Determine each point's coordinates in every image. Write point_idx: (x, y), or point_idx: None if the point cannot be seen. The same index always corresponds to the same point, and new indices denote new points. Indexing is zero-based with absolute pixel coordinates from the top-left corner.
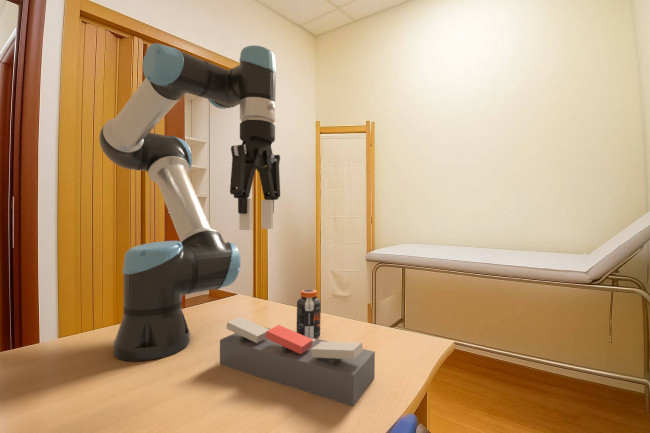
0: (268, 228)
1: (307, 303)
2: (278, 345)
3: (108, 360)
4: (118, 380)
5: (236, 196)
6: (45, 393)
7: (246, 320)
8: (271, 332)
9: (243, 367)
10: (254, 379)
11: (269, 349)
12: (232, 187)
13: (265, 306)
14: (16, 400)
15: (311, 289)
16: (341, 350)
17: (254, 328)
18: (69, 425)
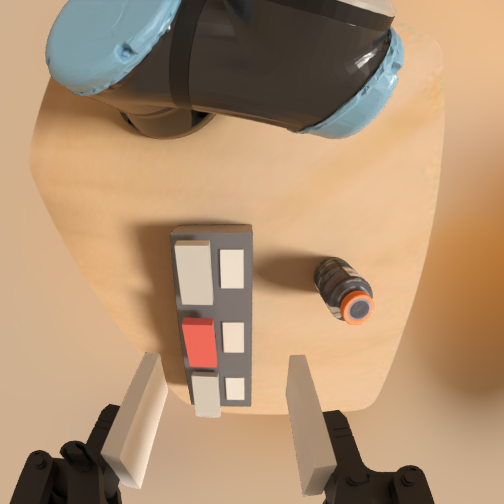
0: (286, 386)
1: (332, 310)
2: None
3: None
4: (93, 152)
5: (74, 455)
6: (54, 123)
7: (206, 262)
8: (184, 330)
9: None
10: None
11: (185, 317)
12: (30, 478)
13: (423, 120)
14: (41, 118)
15: (371, 308)
16: (195, 406)
17: (195, 287)
18: (45, 202)
